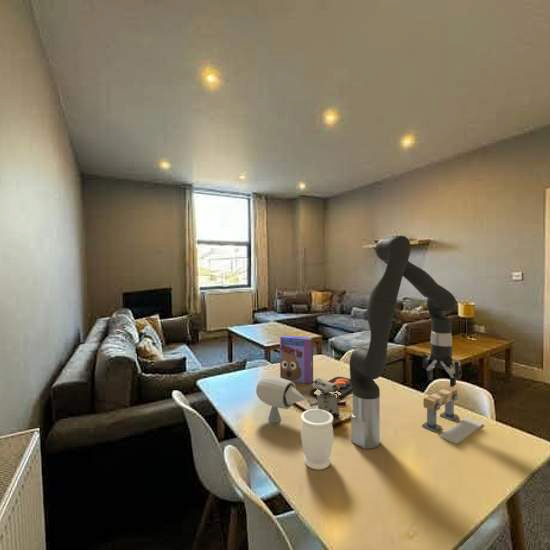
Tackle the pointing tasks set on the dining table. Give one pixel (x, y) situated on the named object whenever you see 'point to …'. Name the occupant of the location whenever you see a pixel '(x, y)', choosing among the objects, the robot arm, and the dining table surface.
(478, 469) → the dining table surface
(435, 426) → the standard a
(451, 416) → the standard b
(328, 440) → the jar
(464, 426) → the felt pad
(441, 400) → the rail
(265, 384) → the jet engine
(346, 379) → the sushi plate
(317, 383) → the figurine
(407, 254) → the robot arm
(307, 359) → the cereal box
